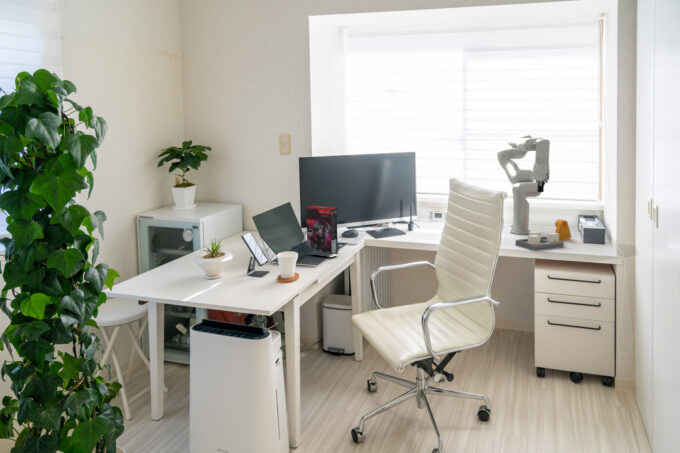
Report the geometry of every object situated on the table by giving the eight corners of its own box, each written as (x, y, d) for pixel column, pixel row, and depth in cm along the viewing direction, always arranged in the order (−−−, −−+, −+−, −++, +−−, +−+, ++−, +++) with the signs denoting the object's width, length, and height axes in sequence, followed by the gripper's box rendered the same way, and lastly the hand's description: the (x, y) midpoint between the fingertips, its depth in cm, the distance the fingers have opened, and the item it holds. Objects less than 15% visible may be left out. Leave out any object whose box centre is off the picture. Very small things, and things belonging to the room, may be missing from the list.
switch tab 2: (527, 244, 349) (528, 235, 348) (535, 243, 351) (535, 234, 350) (532, 245, 345) (532, 236, 344) (539, 244, 347) (540, 236, 346)
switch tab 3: (546, 241, 354) (547, 233, 353) (553, 241, 356) (554, 232, 355) (551, 243, 350) (551, 234, 349) (558, 242, 352) (559, 233, 351)
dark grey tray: (515, 245, 357) (515, 239, 357) (544, 241, 365) (544, 236, 364) (533, 250, 343) (533, 245, 342) (563, 246, 350) (563, 241, 350)
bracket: (562, 237, 375) (563, 217, 373) (570, 239, 368) (571, 219, 366) (547, 238, 372) (548, 219, 369) (556, 241, 365) (556, 221, 362)
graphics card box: (306, 255, 344) (304, 207, 339) (313, 252, 350) (312, 205, 345) (331, 259, 335) (330, 209, 330) (339, 256, 340) (337, 207, 335)
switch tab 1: (528, 240, 358) (528, 232, 357) (535, 239, 360) (536, 231, 359) (533, 241, 355) (533, 233, 354) (540, 240, 356) (540, 232, 355)
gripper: (528, 159, 365) (526, 190, 369) (545, 162, 352) (543, 194, 356) (538, 159, 368) (537, 189, 372) (556, 161, 354) (554, 193, 358)
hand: (540, 192), depth 364 cm, fingers closed
